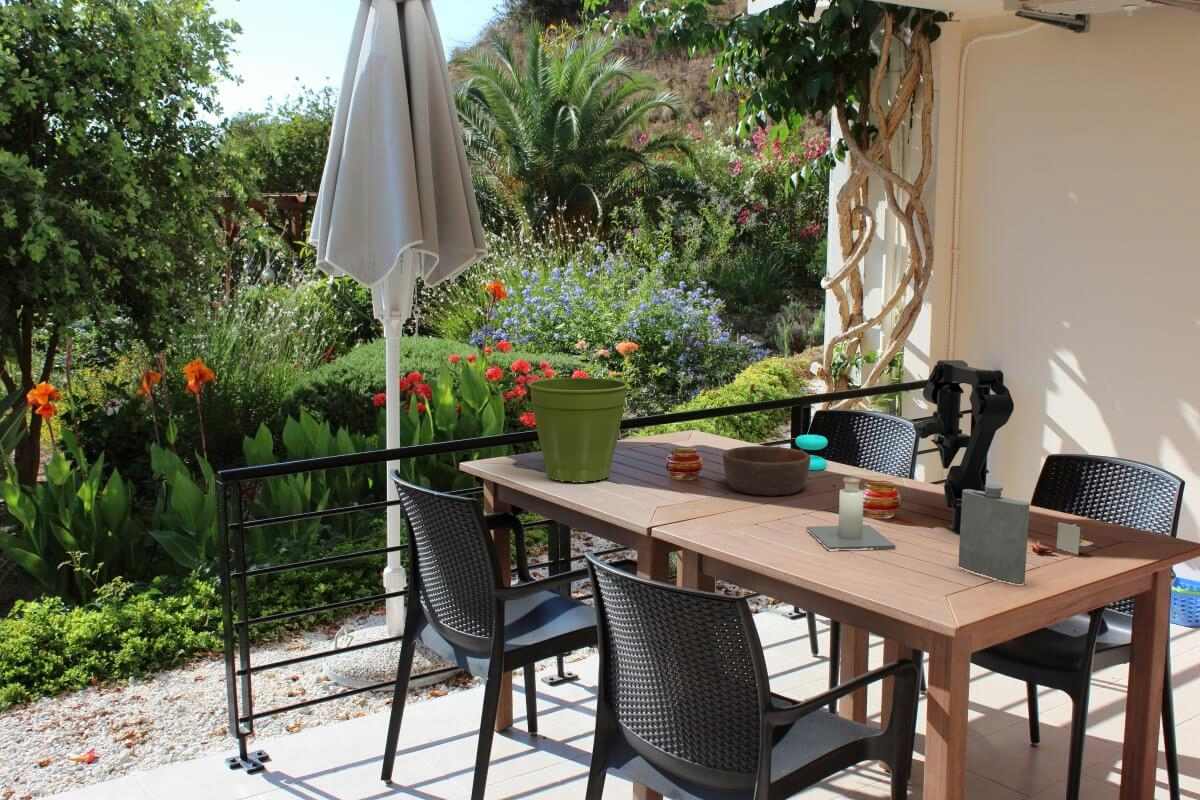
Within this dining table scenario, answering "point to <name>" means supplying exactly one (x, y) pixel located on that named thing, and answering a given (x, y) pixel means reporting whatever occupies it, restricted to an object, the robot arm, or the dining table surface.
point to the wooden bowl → (766, 470)
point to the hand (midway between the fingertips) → (945, 468)
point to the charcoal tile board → (833, 540)
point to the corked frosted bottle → (851, 509)
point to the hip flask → (993, 534)
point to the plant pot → (578, 425)
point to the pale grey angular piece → (1070, 538)
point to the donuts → (813, 444)
